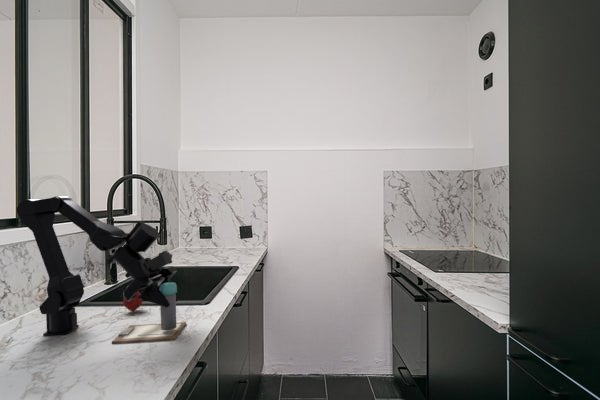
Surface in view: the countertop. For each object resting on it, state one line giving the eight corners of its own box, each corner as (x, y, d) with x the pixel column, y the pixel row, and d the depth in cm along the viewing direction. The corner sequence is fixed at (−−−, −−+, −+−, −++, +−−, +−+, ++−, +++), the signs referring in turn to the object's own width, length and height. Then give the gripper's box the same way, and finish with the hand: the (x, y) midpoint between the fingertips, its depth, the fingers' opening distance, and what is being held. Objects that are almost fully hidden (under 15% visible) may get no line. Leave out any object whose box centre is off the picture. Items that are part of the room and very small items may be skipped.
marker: (161, 331, 95) (160, 286, 95) (160, 326, 99) (158, 283, 99) (178, 328, 97) (177, 284, 97) (176, 323, 101) (175, 281, 101)
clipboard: (111, 343, 92) (111, 339, 92) (130, 327, 104) (129, 323, 104) (175, 340, 93) (175, 335, 93) (186, 324, 105) (186, 320, 105)
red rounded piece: (146, 309, 121) (145, 286, 121) (132, 315, 115) (131, 290, 115) (134, 308, 123) (133, 285, 123) (119, 313, 118) (119, 289, 118)
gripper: (132, 247, 89) (175, 292, 88) (169, 239, 108) (205, 275, 106) (104, 279, 90) (146, 323, 89) (145, 265, 109) (181, 301, 107)
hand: (172, 303), depth 98 cm, fingers closed on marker, 4 cm apart
